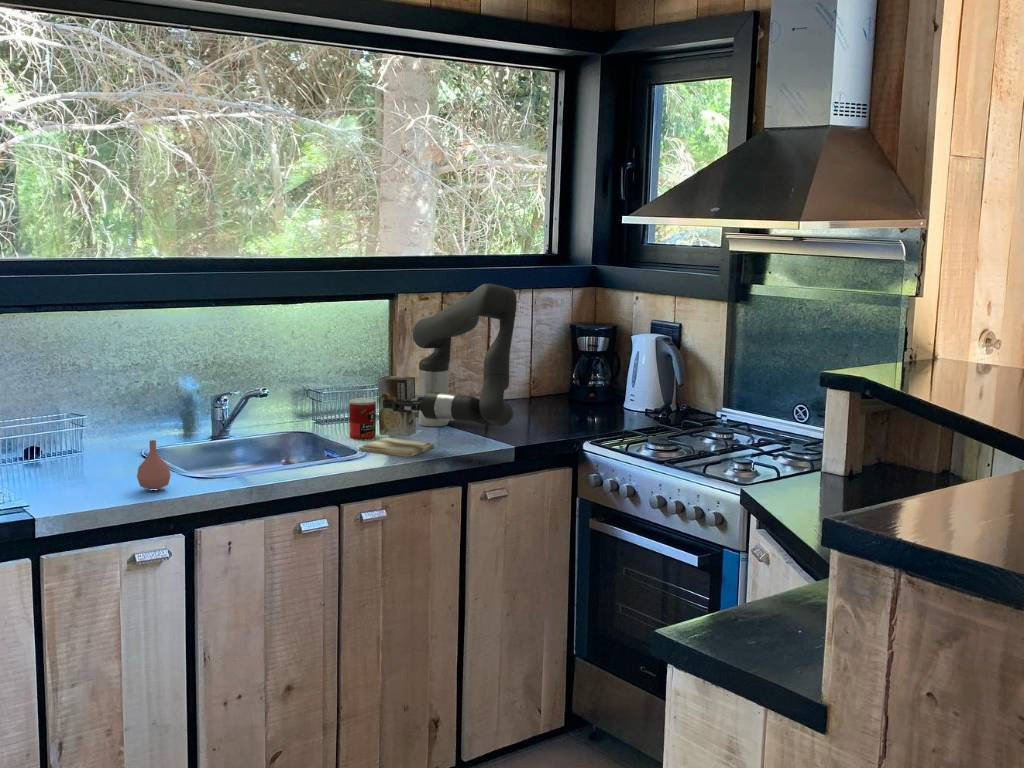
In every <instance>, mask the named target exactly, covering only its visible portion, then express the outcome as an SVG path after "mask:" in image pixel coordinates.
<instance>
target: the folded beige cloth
mask: <svg viewBox="0 0 1024 768" xmlns="http://www.w3.org/2000/svg"><path fill="white" fill-rule="evenodd" d="M434 446H435V444H434V443H431V442H429V441H419V440H412V439H405V438H403V439H402V438H395V437H389V436H387V437H386V436H385V437H382V438H380V439H378V440H374V441H372V442H369V443H365V444H364V445H362V446H359V447H358V451H359V452H364V451H368V452H367V453H372V454H380V453H381V455H388V454H389V456H395V455H396V456H395V457H397V456H399V457H403V456H404V457H405V458H411V457H413V456H415V455H418V454H421V453H423V452H426V451H428V450H430V448H431V449H433V448H434ZM432 447H433V448H432ZM427 449H428V450H427ZM360 450H361V451H360ZM425 450H426V451H425ZM420 452H421V453H420Z"/></svg>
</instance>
